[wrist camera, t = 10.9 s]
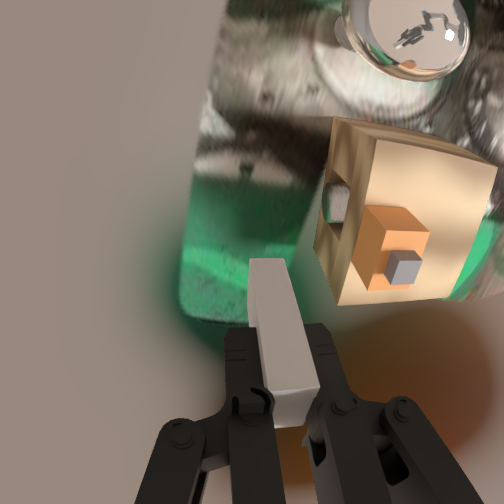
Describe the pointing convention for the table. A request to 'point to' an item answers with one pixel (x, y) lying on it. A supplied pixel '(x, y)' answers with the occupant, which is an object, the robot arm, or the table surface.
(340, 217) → the pin
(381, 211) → the bar
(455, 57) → the light bulb
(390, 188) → the block
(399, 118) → the table surface
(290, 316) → the robot arm
